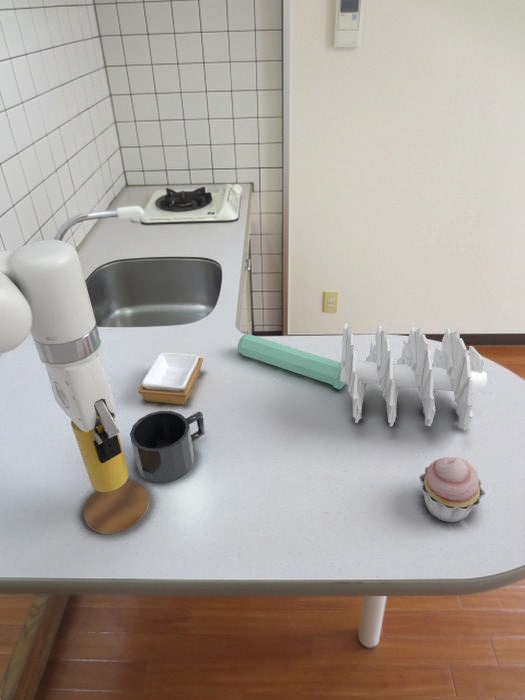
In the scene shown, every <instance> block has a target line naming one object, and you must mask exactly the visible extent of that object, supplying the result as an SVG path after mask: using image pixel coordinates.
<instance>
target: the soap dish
mask: <svg viewBox="0 0 525 700" xmlns="http://www.w3.org/2000/svg"><path fill="white" fill-rule="evenodd" d="M203 362H204V358H203V357H200V356H199V355H198V354H195V353H194V354H192V353H181V352H171V351H170V352H168V351H167V352H166V351H165V352H164V351H163V352H160V353H159V354H158V355H157V357H156V358H155V360H154V362H153V363H152V365H151V366H150V367H149V369H148V371H147V373H146V374H145V376H144V378H143V379H142V381H141V385H140V386H139V388H138V390H137V392H138V393H139V394H140V396H141V397H142V398H143V399H144V400H145V401H146V402H152V403H162V404H173V405H186V403H187V401H188V398H189V397H190V394H191V392H192V390H193V388H194V386H195V383H196V381H197V379H198V377H199V374H200V372H201V368H202V365H203Z"/></svg>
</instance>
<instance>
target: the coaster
mask: <svg viewBox="0 0 525 700" xmlns="http://www.w3.org/2000/svg"><path fill="white" fill-rule="evenodd" d="M149 507H150V497H149V494H148V491H147V490H146V488H145V487H144V486H142V485H141V484H139V483H137V482H135V481H131V480H127V481H126V482H125V483H124V484H123V485H122V486H121V487H120V488H118V489H116V490H113V491H110V492H100V491H97V490H95V492H93V493H92V495H90V496H89V498H88V499H87V501H86V503H85V504H84V508H83V517H84V522H85V523H86V525H87V527H88V528H89V529H90V530H92V531H93V532H96V533H97V534H102V535H116V534H121V533H123V532H126V531H129V530H130V529H132V528H134V527H135V526H136V525H138V524H139V523H140V522H141V521H142V520H143V519H144V517H145V516H146V514H147V512H148V510H149Z"/></svg>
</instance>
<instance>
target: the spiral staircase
mask: <svg viewBox="0 0 525 700" xmlns="http://www.w3.org/2000/svg"><path fill="white" fill-rule="evenodd" d="M382 329H383V328H382V325H380V324H379V325H378V327H377V330H376V333H375V340H373V339H372V340H370V347H369V354H368V356H367V357H365V360H357V350H354V348H355V338H354V333H352V330H353V329H352V327H351V326H349V327H348V323H347V322H346V323H344V326H343V331H342V343H341V358H340V359H341V360H340V362H341V375H340V381H341V382H346V383H345V385H347V393H349V396H350V397H351V399H352V418H354V422H355V424H358V423H359V421H360V420H361V419H362V413H363V404H364V399H365V395H366V390H367V385H377V386H380V389H381V390H382V394H381V395H382V397H383V399H384V400H385V402H386V412H387V414H386V415H387V421H388V423H389V427H393V426H394V423H395V422H396V418H397V401H398V394H399V391H400V389H401V388H410V389H417V390H418V396H419V399H420V401H421V404H422V407H423V411H422V413H423V415H424V426H427V427H431V426H432V423H433V422H434V417H435V415H436V410H437V409H436V404H435V397H434V394H435V391H445V392H453V395H454V397H453V398H454V399H453V400H454V401H453V402H455V403H456V405H457V406H456V410H455V413H456V415H457V417H458V428H462V431H468V427H469V425H470V423H471V421H472V419H473V417H474V416H473V410H472V407H473V403H472V394H477V395H478V394H479V395H484V394H485V393H486V391H487V387H488V375H487V372H486V371H485V370H483V369H484V363H485V358H484V357H483V356H482V355H481V354H480V353H479V352H478V350H477V349H476V348H475V347H474V346H473V345H469V347H468V349H467V346H466V344H465V342H464V340H463V338H462V337H461V336H460V335H461V331H454V332H452V331H451V327H447V328H446V330H445V332H444V335H443V337H442V339H441V348H442V349H441V348H440V347H439V346H435V347H434V354H433V358H432V349H429V342H428V339H427V336H426V334H424V333H423V329H424V328H423V327H419V328H418V329H416V326H411V328H410V332H409V334H408V338H407V339H404V340H403V344H402V350H401V357H400V358H398V359H397V362H396V363H394V356H391V353H392V352H391V351H392V349H391V343H390V342H391V341H390V337H388V331H387V330H382ZM467 351H468V353H467ZM432 360H433V361H432Z"/></svg>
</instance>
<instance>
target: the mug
mask: <svg viewBox="0 0 525 700" xmlns="http://www.w3.org/2000/svg"><path fill="white" fill-rule="evenodd" d="M195 422H196V426H197V430H196V431H195V432H193V433H192V432H191V428H190V425H191V424H193V423H195ZM191 433H192V434H191ZM205 434H206V430H205V422H204V415H203V412H202V411H196V412H195V413H193V414H191V415H189V416H188V417H185V416H184V415H182V414H181V413H179V412H176V411H172V410H159V411H153V412H150V413H147V414H146V415H144V416H142V417H140V418H139V419H138V420H137V421H136V422H135V423H134V424H133V425H132V427H131V429H130V432H129V437H130V442H131V443H130V444H131V446H132V450H133V455H134V460H135V462H136V467H137V470H138V473H139V475H140V476H141V477H142V478H143V479H144V480H146V481H148V482H151V483H155V484H168V483H172V482H175V481H178V480H180V479H182V478H183V477H184V476H186V475H188V473H189V472H190V471H191V469H192V467H193V466H194V462H195V454H194V447H193V446H194V445H193V442H195V441H196V440H198V439H200V438H202V437H203V436H205Z"/></svg>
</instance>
